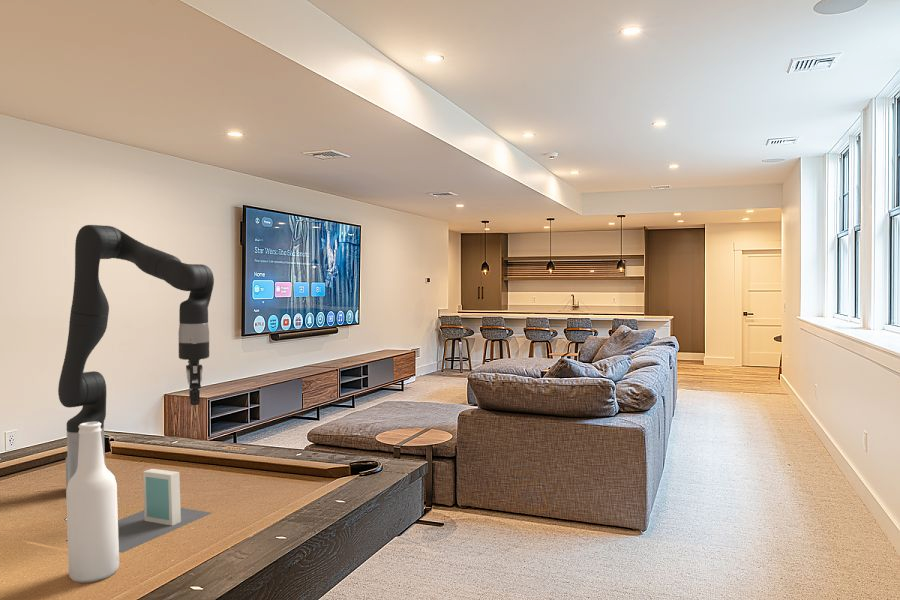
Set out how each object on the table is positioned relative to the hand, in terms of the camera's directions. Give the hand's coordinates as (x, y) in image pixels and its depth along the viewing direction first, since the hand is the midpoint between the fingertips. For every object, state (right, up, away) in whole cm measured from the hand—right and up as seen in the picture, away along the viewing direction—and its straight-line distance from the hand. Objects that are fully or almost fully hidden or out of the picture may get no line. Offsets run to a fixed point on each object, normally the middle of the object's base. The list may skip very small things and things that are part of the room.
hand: (194, 401), depth 172 cm
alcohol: (-3, -28, -42) cm, 51 cm away
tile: (-2, -27, -14) cm, 30 cm away
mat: (-5, -27, -17) cm, 33 cm away
